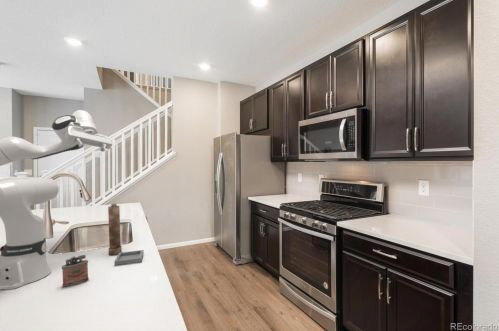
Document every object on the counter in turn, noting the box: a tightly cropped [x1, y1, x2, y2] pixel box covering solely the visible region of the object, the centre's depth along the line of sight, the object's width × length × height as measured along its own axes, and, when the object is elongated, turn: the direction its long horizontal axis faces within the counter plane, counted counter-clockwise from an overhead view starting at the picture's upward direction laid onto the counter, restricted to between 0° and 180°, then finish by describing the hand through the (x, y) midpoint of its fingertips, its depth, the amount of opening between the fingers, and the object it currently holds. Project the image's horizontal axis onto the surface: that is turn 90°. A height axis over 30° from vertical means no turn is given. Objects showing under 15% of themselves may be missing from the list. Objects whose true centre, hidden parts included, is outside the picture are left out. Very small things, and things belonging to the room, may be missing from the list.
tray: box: [113, 249, 144, 267], centre depth 114 cm, size 11×11×2 cm
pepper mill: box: [107, 202, 123, 256], centre depth 121 cm, size 6×6×25 cm
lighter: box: [61, 254, 90, 289], centre depth 93 cm, size 8×3×10 cm, turn 131°
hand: (92, 148), depth 120 cm, fingers open, 8 cm apart
